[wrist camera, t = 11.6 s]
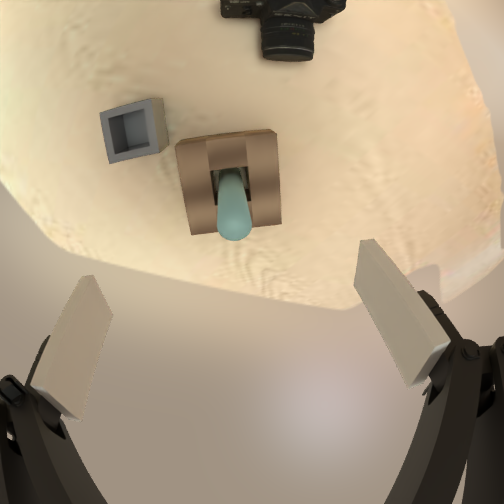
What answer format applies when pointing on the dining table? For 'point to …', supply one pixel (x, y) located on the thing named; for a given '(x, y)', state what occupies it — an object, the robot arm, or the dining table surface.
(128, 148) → the pen cup
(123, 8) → the dining table surface
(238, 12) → the camera
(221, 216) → the dowel
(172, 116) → the dining table surface
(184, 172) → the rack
